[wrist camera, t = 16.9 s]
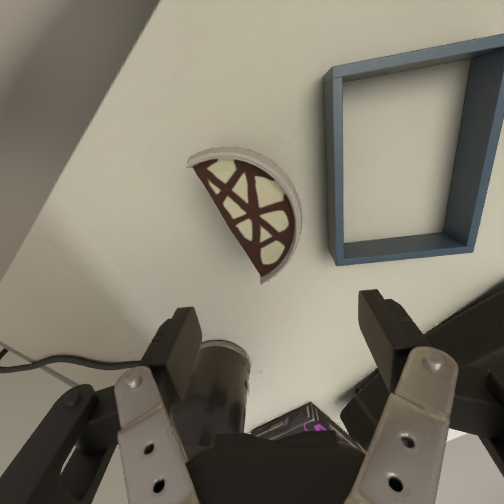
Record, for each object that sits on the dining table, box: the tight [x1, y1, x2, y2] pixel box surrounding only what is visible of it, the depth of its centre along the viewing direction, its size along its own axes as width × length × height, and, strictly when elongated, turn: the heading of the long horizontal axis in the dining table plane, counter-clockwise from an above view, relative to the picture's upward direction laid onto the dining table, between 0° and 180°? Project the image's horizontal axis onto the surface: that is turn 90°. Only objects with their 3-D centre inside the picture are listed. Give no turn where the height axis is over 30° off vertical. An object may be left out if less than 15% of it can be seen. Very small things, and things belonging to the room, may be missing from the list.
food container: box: [187, 147, 302, 285], centre depth 24 cm, size 12×6×10 cm, turn 29°
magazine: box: [340, 289, 504, 454], centre depth 32 cm, size 17×3×30 cm
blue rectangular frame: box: [323, 34, 504, 266], centre depth 25 cm, size 14×18×4 cm
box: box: [251, 403, 363, 452], centre depth 47 cm, size 14×4×20 cm
